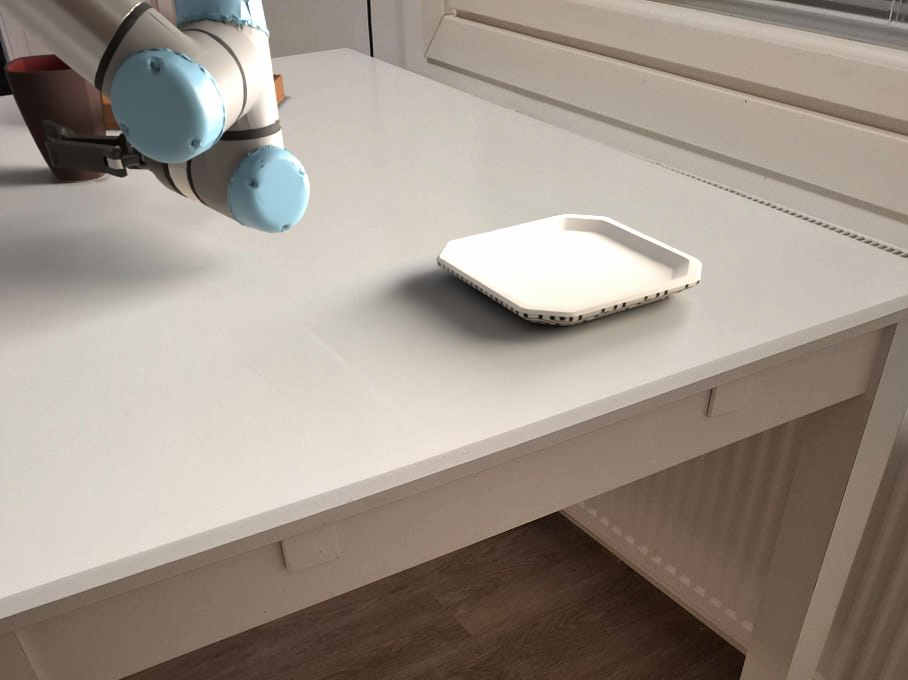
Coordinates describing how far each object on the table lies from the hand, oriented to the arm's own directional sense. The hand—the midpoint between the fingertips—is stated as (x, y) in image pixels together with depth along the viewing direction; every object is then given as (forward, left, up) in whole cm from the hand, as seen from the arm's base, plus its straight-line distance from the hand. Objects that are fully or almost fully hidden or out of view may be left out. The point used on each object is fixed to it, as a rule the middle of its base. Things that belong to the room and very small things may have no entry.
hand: (105, 122), depth 105 cm
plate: (+54, -26, -7) cm, 61 cm away
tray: (-3, +34, -7) cm, 35 cm away
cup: (-5, +4, -7) cm, 9 cm away
